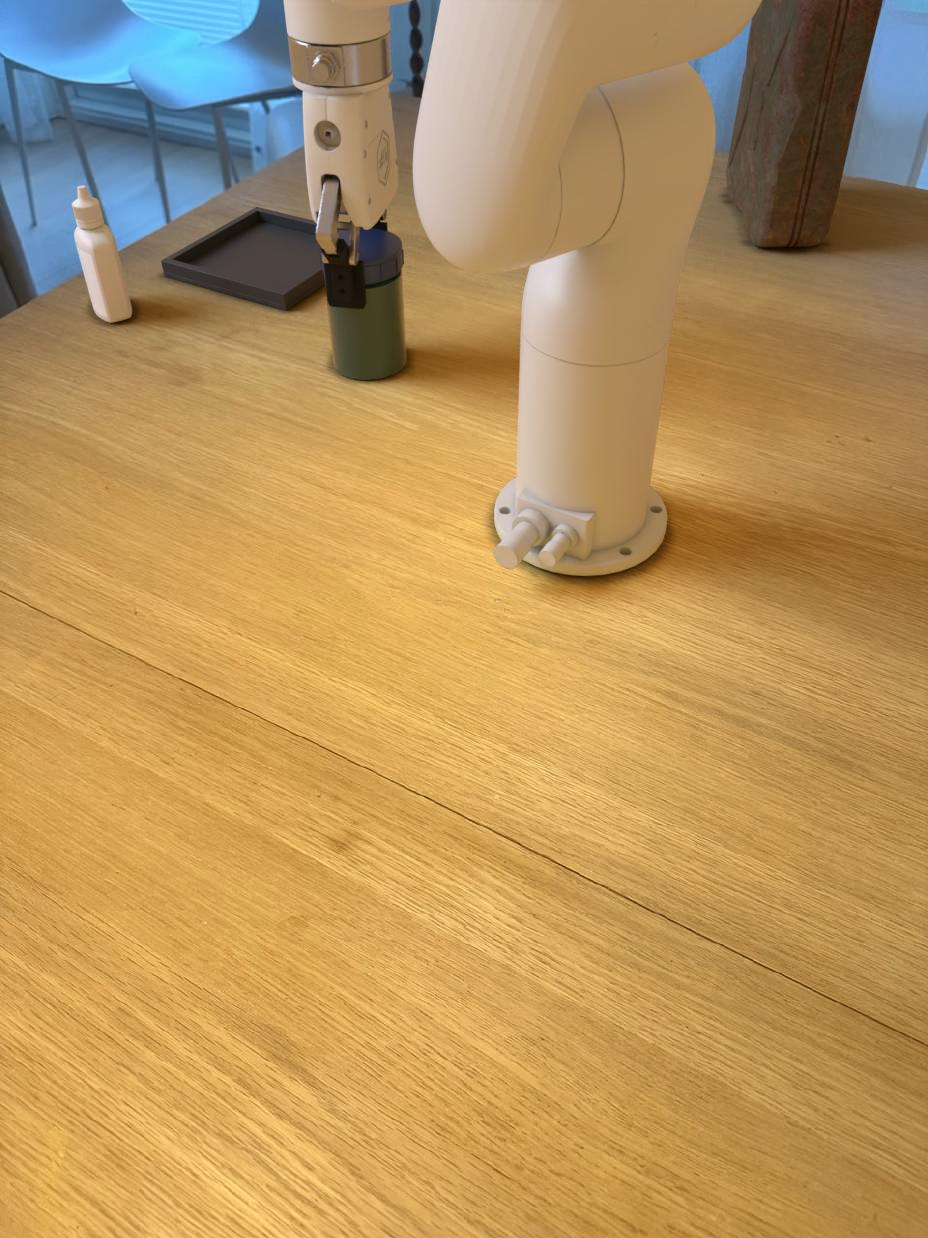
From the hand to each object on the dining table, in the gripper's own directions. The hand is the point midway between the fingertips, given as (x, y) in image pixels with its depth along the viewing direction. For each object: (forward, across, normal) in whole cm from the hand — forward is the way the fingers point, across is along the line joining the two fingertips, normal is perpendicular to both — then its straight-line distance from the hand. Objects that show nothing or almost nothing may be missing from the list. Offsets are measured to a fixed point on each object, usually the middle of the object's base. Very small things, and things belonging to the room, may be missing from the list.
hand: (359, 284), depth 90 cm
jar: (+7, 0, 0) cm, 7 cm away
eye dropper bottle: (+8, +5, +27) cm, 28 cm away
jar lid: (-3, 0, 0) cm, 3 cm away
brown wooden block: (+8, +39, -36) cm, 53 cm away
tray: (+7, +18, +15) cm, 24 cm away
